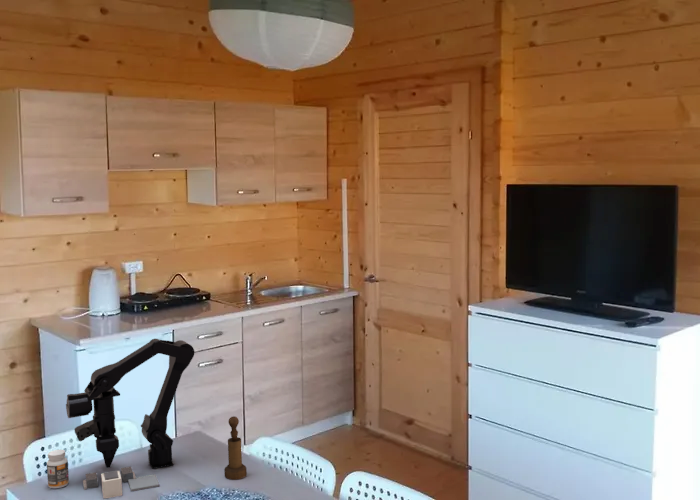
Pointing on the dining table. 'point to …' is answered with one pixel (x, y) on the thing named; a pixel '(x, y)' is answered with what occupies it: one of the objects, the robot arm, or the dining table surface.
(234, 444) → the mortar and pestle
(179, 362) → the robot arm
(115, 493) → the beige open box
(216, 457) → the dining table surface
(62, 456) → the pill bottle
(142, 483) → the mat
